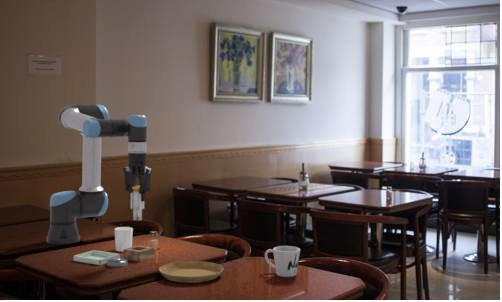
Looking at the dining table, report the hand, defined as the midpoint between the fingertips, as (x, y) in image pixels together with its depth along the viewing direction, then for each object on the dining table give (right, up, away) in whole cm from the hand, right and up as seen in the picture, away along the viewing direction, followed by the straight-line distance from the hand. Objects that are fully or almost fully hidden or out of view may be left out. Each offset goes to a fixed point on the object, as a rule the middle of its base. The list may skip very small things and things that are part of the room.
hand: (137, 208), depth 260 cm
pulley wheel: (-6, -22, -10) cm, 25 cm away
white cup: (-9, -21, +17) cm, 28 cm away
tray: (-16, -22, -2) cm, 27 cm away
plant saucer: (+25, -24, -24) cm, 42 cm away
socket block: (0, -21, +1) cm, 21 cm away
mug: (+59, -24, -19) cm, 66 cm away
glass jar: (0, -5, 0) cm, 5 cm away
